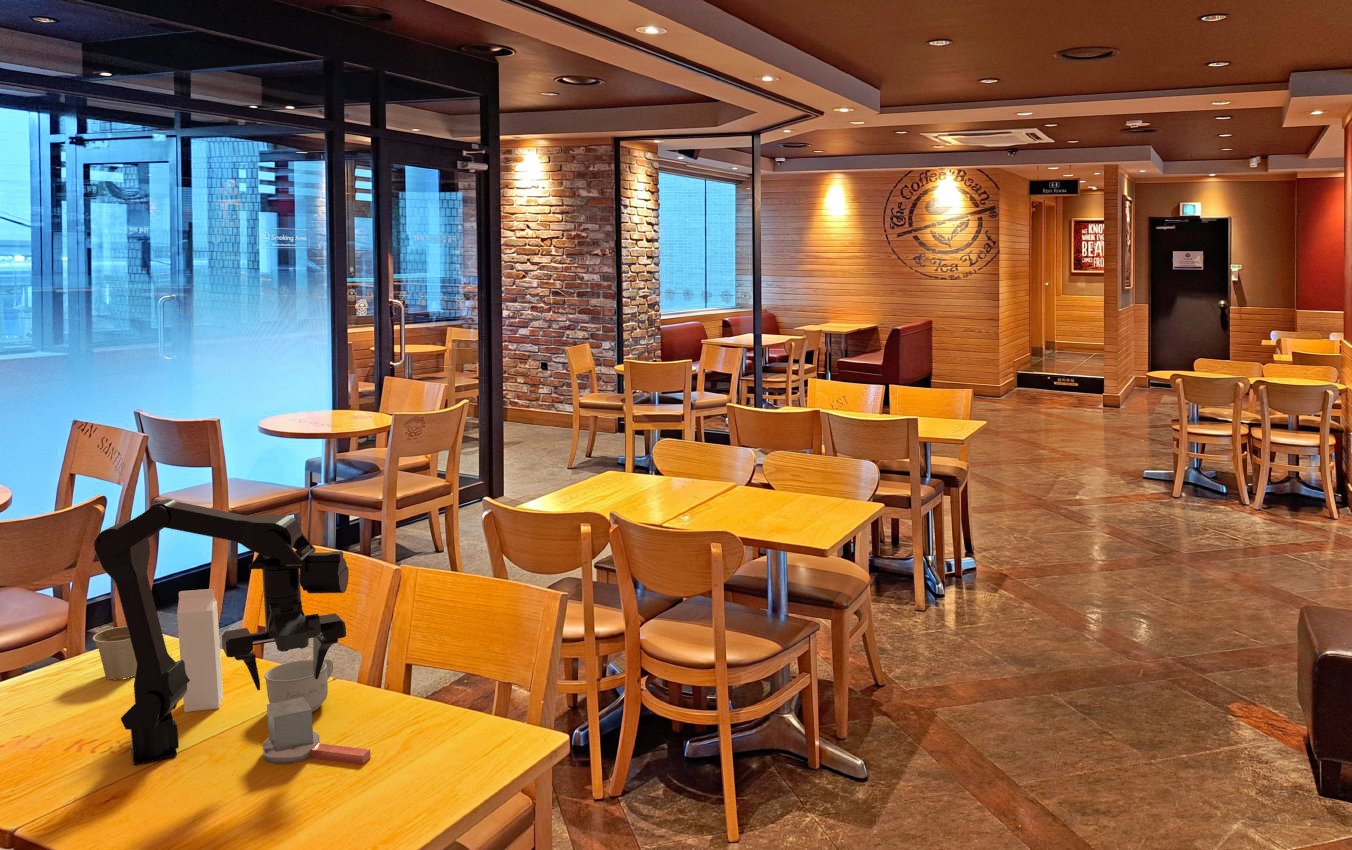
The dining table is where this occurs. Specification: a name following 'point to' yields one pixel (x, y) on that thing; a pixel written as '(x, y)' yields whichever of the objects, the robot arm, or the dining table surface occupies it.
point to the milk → (200, 649)
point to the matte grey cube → (290, 724)
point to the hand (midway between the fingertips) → (287, 683)
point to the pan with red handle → (315, 753)
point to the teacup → (298, 682)
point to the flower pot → (116, 652)
